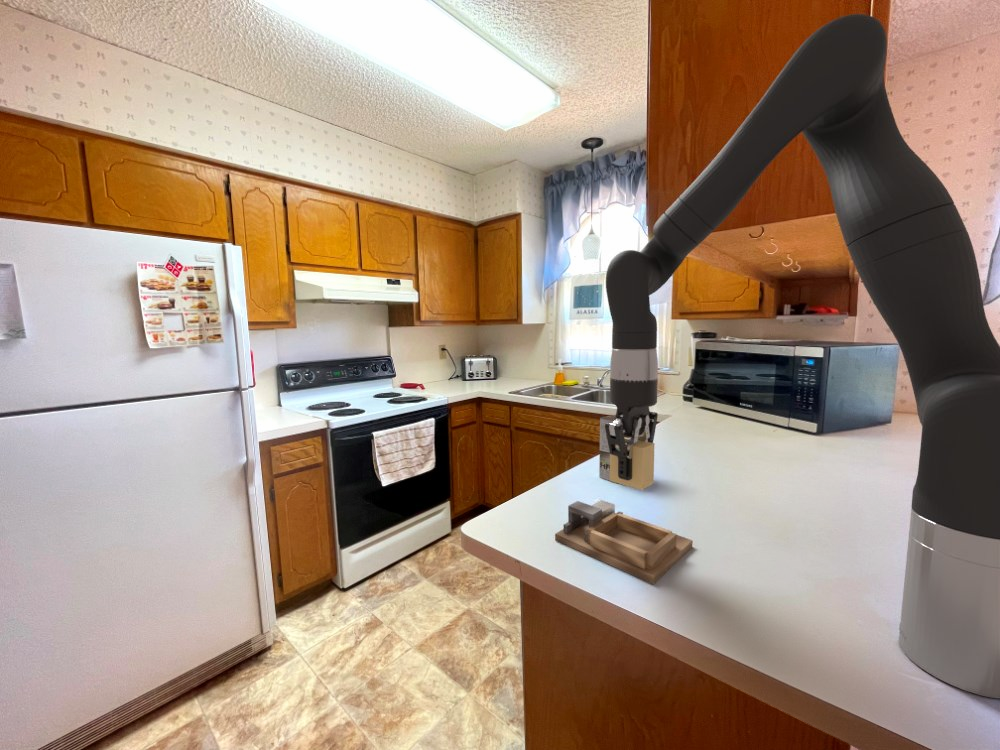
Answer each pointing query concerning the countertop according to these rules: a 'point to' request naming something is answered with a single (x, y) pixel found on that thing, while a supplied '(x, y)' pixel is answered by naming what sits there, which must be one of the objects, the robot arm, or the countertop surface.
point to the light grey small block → (604, 508)
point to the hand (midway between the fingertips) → (631, 474)
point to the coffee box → (605, 448)
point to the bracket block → (636, 466)
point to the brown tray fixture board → (623, 541)
